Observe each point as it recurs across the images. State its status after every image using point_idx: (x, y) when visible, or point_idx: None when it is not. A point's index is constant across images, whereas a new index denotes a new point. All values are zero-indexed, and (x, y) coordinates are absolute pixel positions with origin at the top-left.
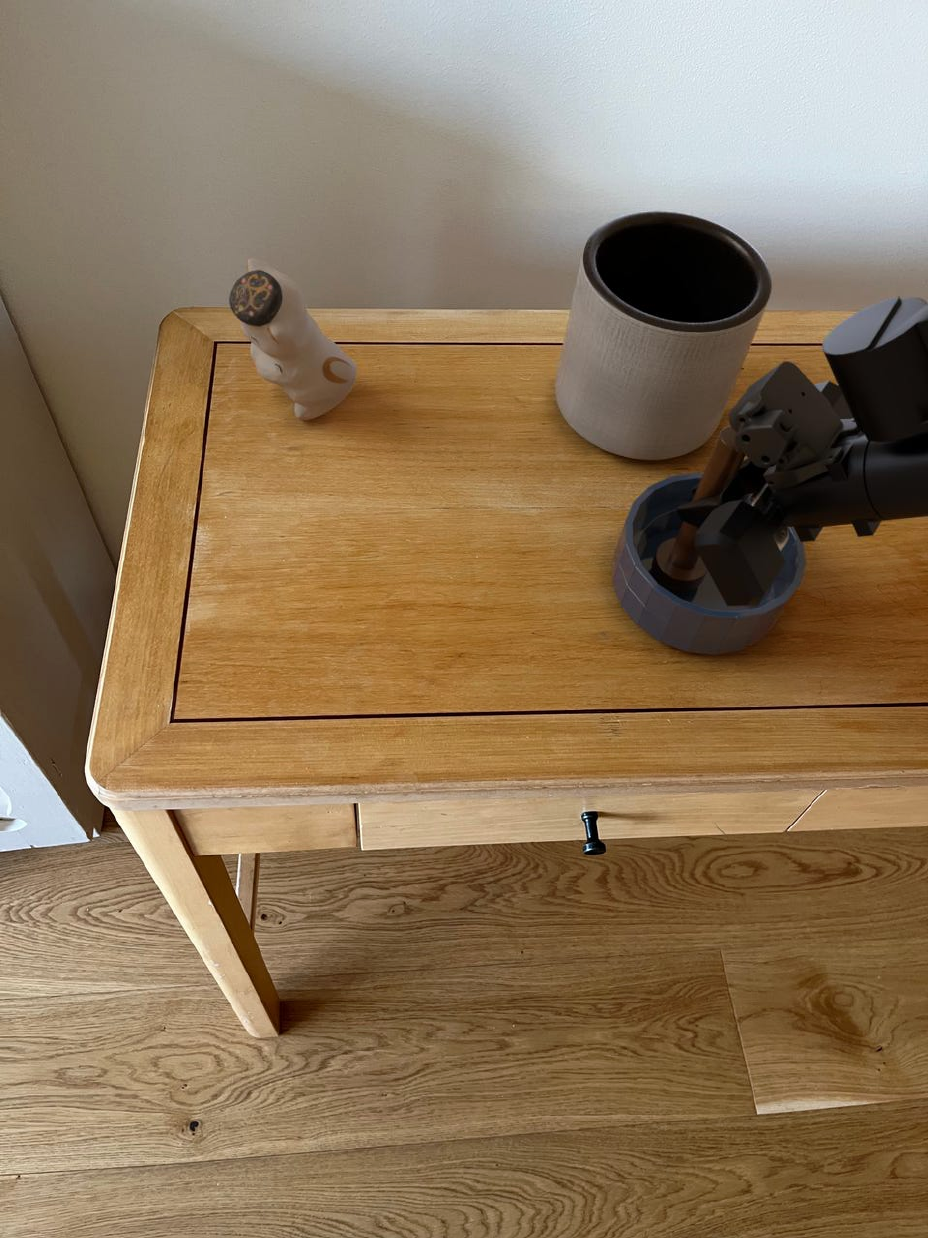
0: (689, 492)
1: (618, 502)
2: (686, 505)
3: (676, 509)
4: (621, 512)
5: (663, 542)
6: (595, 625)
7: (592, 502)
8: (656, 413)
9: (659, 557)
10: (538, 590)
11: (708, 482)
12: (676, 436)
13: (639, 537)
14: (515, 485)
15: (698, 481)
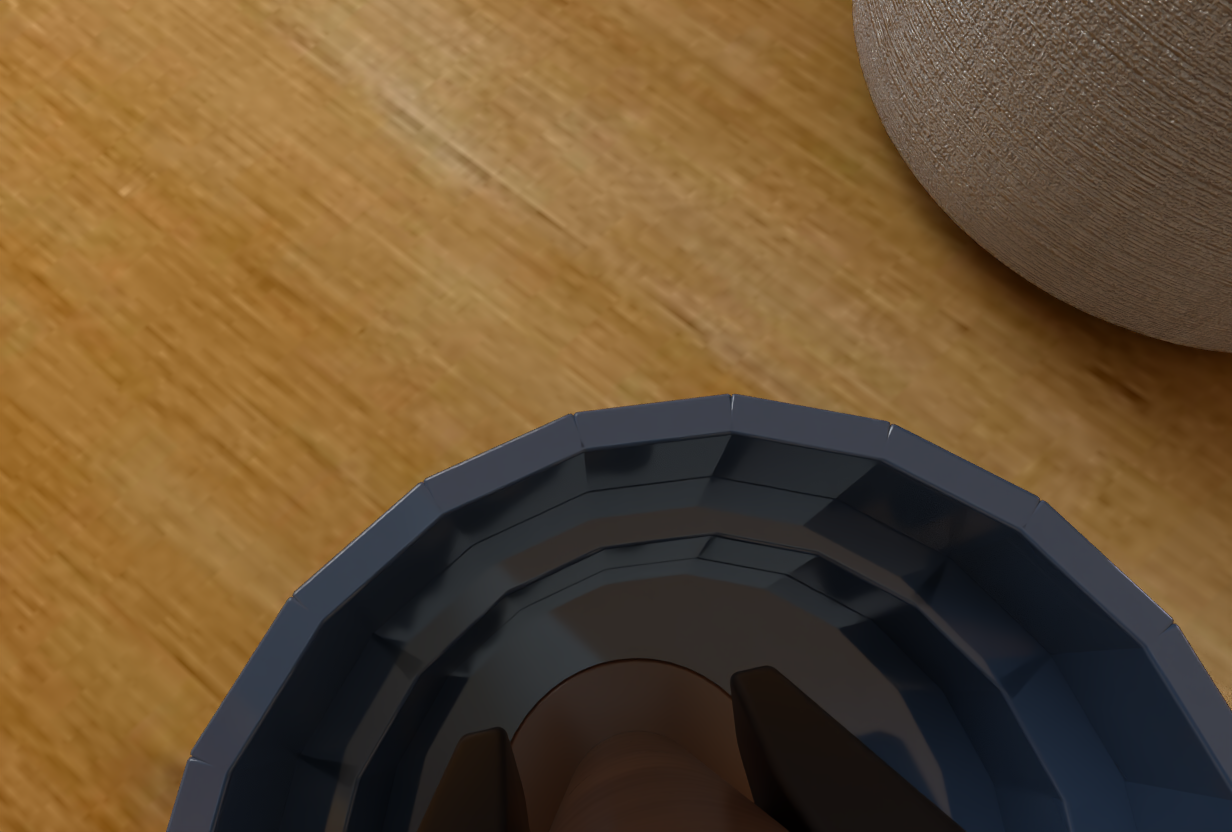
0: (957, 545)
1: (757, 341)
2: (456, 818)
3: (468, 733)
4: (728, 384)
5: (639, 662)
6: (188, 722)
7: (669, 277)
8: (1130, 70)
9: (547, 717)
10: (164, 442)
11: None
12: (1170, 251)
13: (554, 564)
14: (493, 51)
15: (1017, 547)
